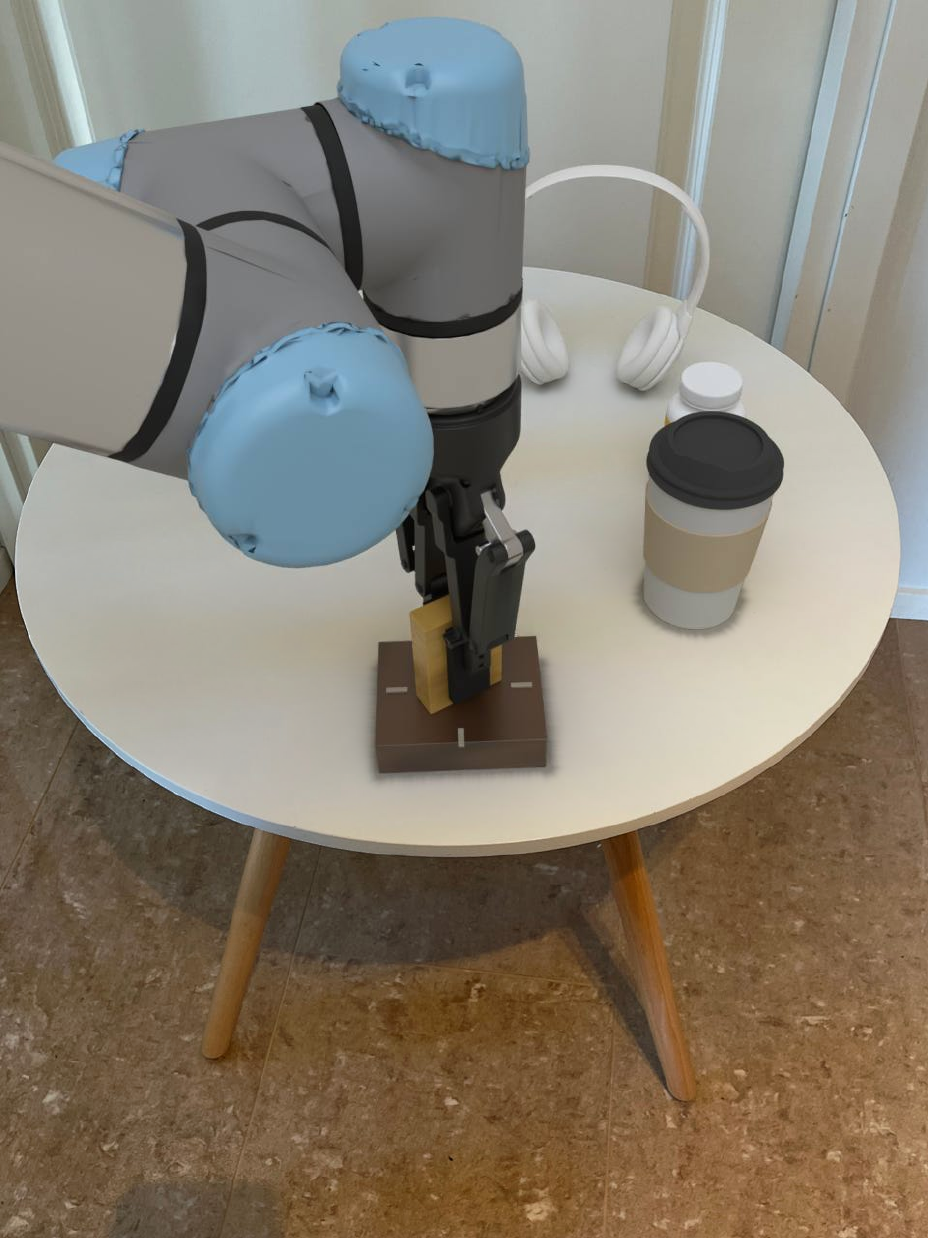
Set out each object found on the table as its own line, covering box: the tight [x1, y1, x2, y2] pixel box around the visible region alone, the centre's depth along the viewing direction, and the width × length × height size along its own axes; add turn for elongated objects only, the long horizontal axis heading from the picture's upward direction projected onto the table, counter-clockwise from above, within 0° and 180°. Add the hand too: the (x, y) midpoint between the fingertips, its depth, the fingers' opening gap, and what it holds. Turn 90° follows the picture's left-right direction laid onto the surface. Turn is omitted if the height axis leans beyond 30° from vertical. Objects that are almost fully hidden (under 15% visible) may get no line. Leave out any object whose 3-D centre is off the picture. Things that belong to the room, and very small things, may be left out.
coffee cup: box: [642, 411, 785, 630], centre depth 74 cm, size 9×9×15 cm
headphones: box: [520, 164, 711, 392], centre depth 92 cm, size 7×18×20 cm, turn 82°
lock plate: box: [374, 635, 548, 774], centre depth 71 cm, size 11×10×3 cm
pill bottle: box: [664, 361, 747, 426], centre depth 84 cm, size 6×6×11 cm
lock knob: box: [408, 595, 502, 714], centre depth 67 cm, size 6×2×8 cm, turn 121°
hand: (458, 679), depth 70 cm, fingers closed on lock knob, 2 cm apart
